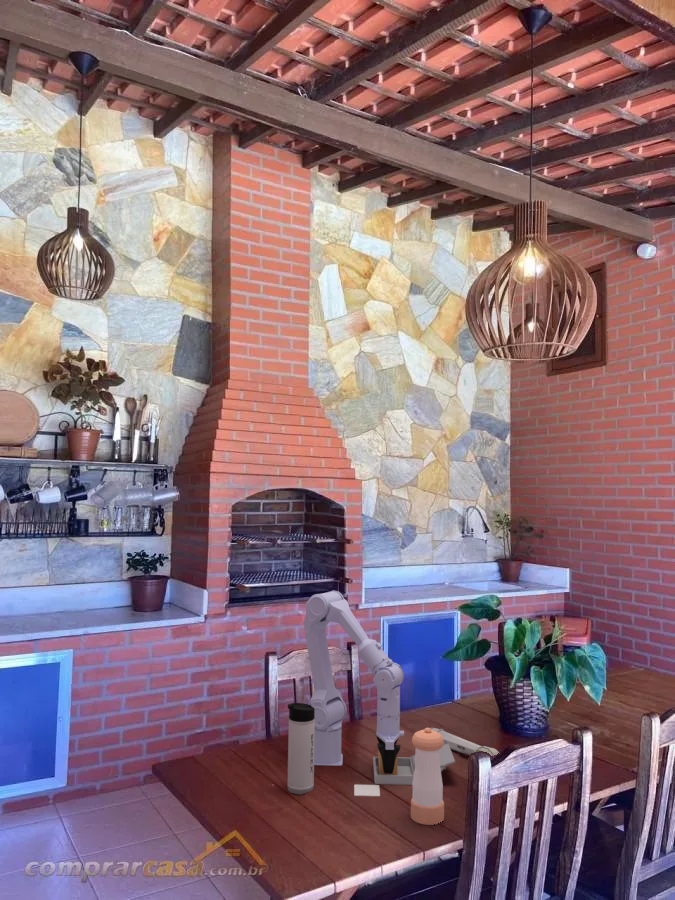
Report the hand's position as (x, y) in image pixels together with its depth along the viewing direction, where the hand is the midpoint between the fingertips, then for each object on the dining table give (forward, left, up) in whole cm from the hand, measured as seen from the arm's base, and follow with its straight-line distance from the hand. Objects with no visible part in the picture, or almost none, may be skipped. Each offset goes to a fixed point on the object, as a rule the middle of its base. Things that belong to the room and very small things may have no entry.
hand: (387, 768), depth 176 cm
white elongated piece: (+19, +14, +1) cm, 23 cm away
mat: (-5, -10, -2) cm, 12 cm away
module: (0, 0, -1) cm, 1 cm away
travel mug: (-21, -9, -2) cm, 23 cm away
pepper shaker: (+8, -22, -2) cm, 23 cm away
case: (+6, 0, -2) cm, 7 cm away
